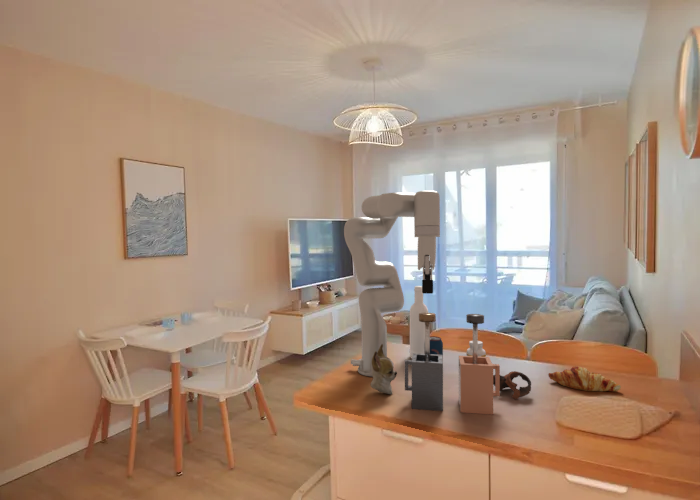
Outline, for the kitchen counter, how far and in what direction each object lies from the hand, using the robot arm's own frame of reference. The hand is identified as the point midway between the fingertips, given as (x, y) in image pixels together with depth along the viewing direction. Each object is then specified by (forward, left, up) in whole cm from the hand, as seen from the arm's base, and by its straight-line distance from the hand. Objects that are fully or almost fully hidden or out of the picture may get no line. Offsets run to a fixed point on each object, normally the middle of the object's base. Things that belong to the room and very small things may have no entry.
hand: (427, 293), depth 125 cm
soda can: (+2, +34, -34) cm, 48 cm away
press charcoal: (-1, 0, -34) cm, 34 cm away
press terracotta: (+15, 0, -34) cm, 37 cm away
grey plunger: (+14, 0, -25) cm, 28 cm away
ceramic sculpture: (-14, +6, -34) cm, 38 cm away
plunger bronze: (0, 0, -25) cm, 25 cm away
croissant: (+51, +23, -34) cm, 66 cm away
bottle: (-4, +49, -34) cm, 60 cm away
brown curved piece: (+26, +13, -34) cm, 45 cm away
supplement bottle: (+17, +27, -34) cm, 47 cm away
